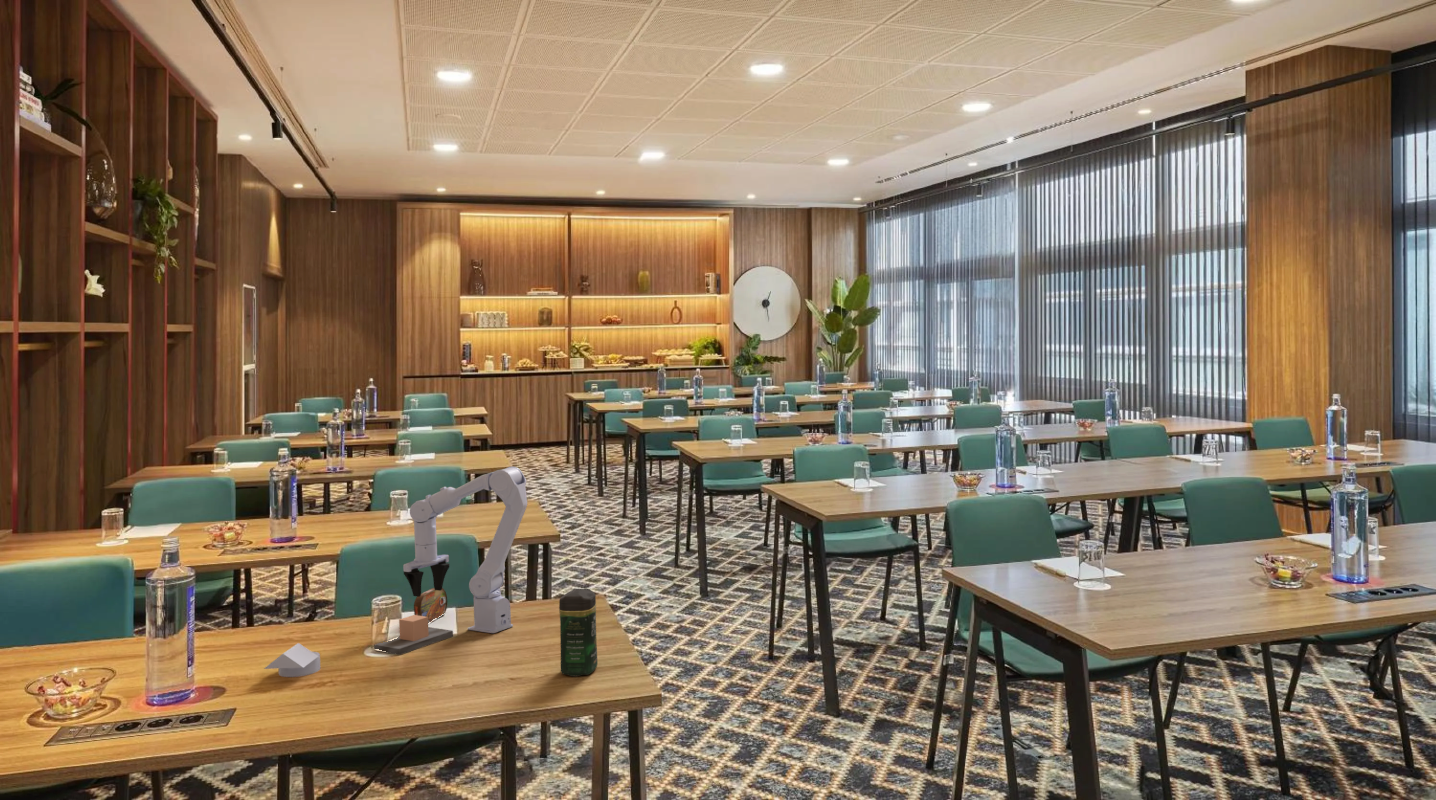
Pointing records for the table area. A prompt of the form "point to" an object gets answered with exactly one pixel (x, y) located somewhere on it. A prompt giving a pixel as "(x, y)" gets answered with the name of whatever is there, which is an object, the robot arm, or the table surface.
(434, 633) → the charcoal board
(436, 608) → the tin
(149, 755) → the table surface
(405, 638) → the cube
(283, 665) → the wedge on round base
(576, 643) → the coffee jar
